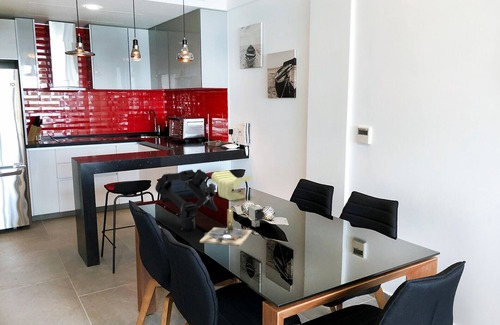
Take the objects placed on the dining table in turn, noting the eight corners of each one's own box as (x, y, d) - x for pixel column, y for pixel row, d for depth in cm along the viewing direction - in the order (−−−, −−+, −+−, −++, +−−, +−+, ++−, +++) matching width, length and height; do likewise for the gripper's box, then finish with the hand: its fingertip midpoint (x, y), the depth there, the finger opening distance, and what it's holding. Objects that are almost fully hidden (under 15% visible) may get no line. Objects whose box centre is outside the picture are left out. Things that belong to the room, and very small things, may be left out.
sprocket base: (199, 242, 205) (199, 236, 205) (213, 229, 226) (213, 224, 226) (241, 245, 200) (241, 240, 199) (251, 231, 221) (251, 226, 221)
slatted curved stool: (211, 195, 307) (211, 172, 304) (229, 192, 316) (229, 170, 313) (233, 203, 283) (233, 178, 280) (252, 200, 292) (251, 175, 290)
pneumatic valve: (256, 229, 225) (256, 208, 223) (247, 223, 235) (247, 204, 234) (265, 228, 228) (265, 207, 226) (255, 222, 238) (255, 202, 236)
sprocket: (204, 239, 206) (203, 216, 204) (215, 228, 224) (215, 207, 222) (239, 242, 202) (238, 219, 200) (247, 230, 220) (247, 209, 218)
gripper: (200, 183, 208) (221, 205, 207) (212, 176, 226) (231, 196, 225) (186, 196, 211) (207, 218, 210) (199, 189, 229) (218, 209, 228)
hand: (216, 210), depth 218 cm, fingers closed
